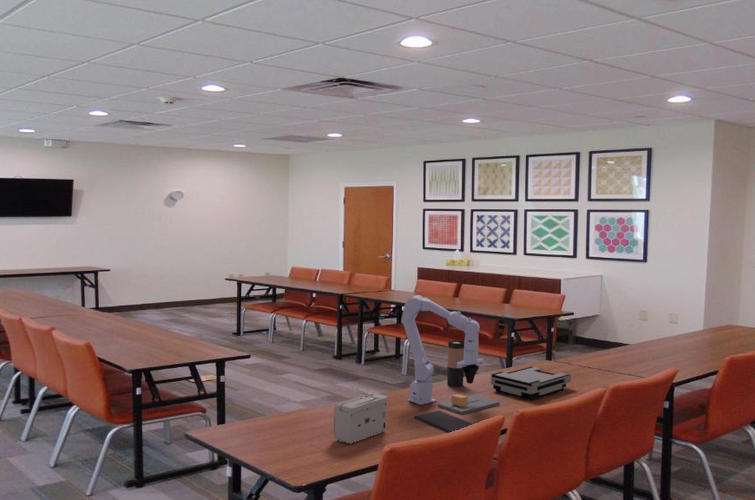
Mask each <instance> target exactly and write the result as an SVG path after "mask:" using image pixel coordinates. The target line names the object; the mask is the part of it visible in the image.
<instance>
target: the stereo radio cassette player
mask: <svg viewBox="0 0 755 500" xmlns="http://www.w3.org/2000/svg"><path fill="white" fill-rule="evenodd" d="M351 389H354V390H356V391H357V392H360V393H362V394H364V395H362V396H358V397H355V398H351V399H349V400H346V401H342V402H339V403H335V405H334V412H333V416H334V417H333V438H334V439H335V440H340V441H344V442H348V443H353V442H355V443H357V442H356V441H358V442H360V441H359V440H361V441H363V440H366V439H368V438H367V437H369V438H370V436H371V437H373V435H374V436H376V435H378V434H382V433H384V432H385V431H386V428H387V404H388V402H389V397H388V395H387V396H386V395H383V394H380V393H376V392H371V393H367V392H364V391H362V390H361V389H359V388H357V387H356V388H355V387H353V386H351ZM381 432H382V433H381ZM365 438H366V439H365ZM362 439H363V440H362ZM340 441H339V442H340ZM344 442H343V443H344ZM348 443H347V444H348ZM353 444H354V443H353Z"/></svg>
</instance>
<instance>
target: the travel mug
mask: <svg viewBox="0 0 755 500" xmlns="http://www.w3.org/2000/svg"><path fill="white" fill-rule="evenodd" d="M447 345H448V346H447V366H446V367H447V368H446V369H447V371H446V372H447V373H446V375H447V378H446V380H447V382H446V384H447V386H449V387H451V388H460V387H463V386H464V378H465V373H464V371H463V369H462V368H458V367H457V362H460V361H462V360H464V341H463V340H457V339H456V340H453V341H450V340H449V341H448V343H447Z"/></svg>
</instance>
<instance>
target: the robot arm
mask: <svg viewBox="0 0 755 500" xmlns="http://www.w3.org/2000/svg"><path fill="white" fill-rule="evenodd" d="M403 308H404V309H403V312H402V316H401V322H402V325H403V327H404V331H405V334H406V337H407V339H408V344H409V346H410V350H411V352H412V356H413V360H414V375H415V380H414V381H412V382H411V383H410V384H409V396H408V399H407V401H409V402H412V403H415V404H417V405H425V404H431V403H434V402H437V401H438V400H437V399H435V398H433V386H434V378H433V374H434V372H435V368H434V365H433V363H431V361H430V359H429V357H428V356H427V354H426V352H425V348H424V344H423V342H422V338H421V335H420V331H419V328H418V327H417V323H416V318H417V316H418V314H419V313H420V312H429V311H430V312H432V313H434V314H436V315H438V316H440V317H441V318H444V319H445V320H447V322H448V325H451V326H452V327H454V328H457V330H460V331H463V332H464V360H462V361H460V362H457V367H458V368H462V369H463V371H464V377H465V381H466V383H467V384H470V385H471V384H473V383H474V379H475V376H476V374H477V372H478V370H479V369H480V366H479V365H484V364H485V359H484V358H482V357H481V358H478V357H479V331H480V328H481V327H480V326H481V325H480V324H479V322H478V321H476V319H472V318H471V317H467V316H465V315H463V314H462V313H461V311H460V310H459V311H458V310H457V311H449V310H447V309H446V308H445V307H443V306H441V305H440V304H438V303H436V302H435V301H432V300H431V299H429V298H428V297H423V296H422V295H419V294H415V295H414V296H413V297H409V298H408V300H407V301H406V302H405V303H404V307H403Z"/></svg>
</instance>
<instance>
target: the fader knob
mask: <svg viewBox="0 0 755 500" xmlns="http://www.w3.org/2000/svg"><path fill="white" fill-rule="evenodd" d="M468 397H469V396H468V395H464V394H460V393H457V394H452V395H451V401H452V404H454V405H457V406H460V407H461V406H465V405H467V401H468Z"/></svg>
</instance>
